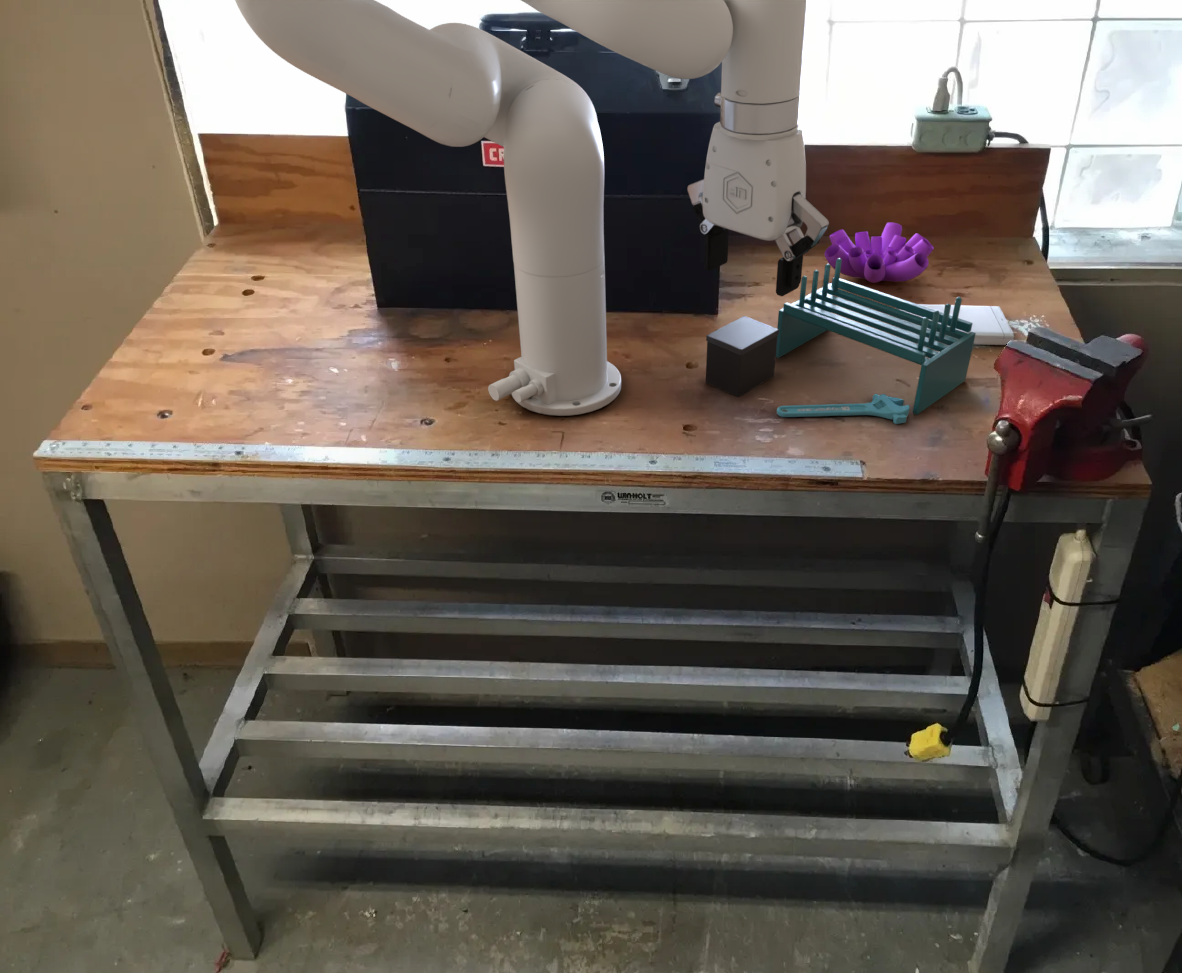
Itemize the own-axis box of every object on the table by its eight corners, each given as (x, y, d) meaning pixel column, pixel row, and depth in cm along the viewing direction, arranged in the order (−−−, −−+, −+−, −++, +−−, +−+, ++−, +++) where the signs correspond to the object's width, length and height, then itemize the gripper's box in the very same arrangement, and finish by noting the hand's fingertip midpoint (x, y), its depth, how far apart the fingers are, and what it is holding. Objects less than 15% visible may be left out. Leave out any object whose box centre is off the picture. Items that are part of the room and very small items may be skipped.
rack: (917, 415, 105) (933, 328, 99) (774, 356, 117) (781, 275, 110) (965, 380, 111) (983, 297, 105) (824, 327, 122) (834, 249, 116)
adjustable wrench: (903, 391, 107) (915, 415, 103) (901, 399, 108) (913, 423, 104) (774, 394, 107) (781, 419, 103) (773, 402, 108) (780, 426, 104)
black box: (738, 398, 109) (741, 349, 106) (704, 382, 112) (706, 335, 109) (775, 376, 113) (779, 329, 109) (741, 361, 116) (744, 315, 112)
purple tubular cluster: (925, 299, 135) (958, 263, 126) (823, 313, 132) (849, 277, 123) (901, 227, 138) (932, 187, 129) (801, 240, 135) (825, 200, 126)
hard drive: (906, 332, 117) (1015, 334, 116) (896, 301, 124) (999, 303, 122) (904, 344, 118) (1012, 346, 117) (894, 314, 124) (996, 315, 123)
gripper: (667, 107, 98) (667, 268, 108) (809, 140, 88) (795, 314, 98) (716, 90, 102) (711, 247, 112) (858, 120, 92) (839, 290, 102)
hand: (750, 278), depth 105 cm, fingers open, 9 cm apart
